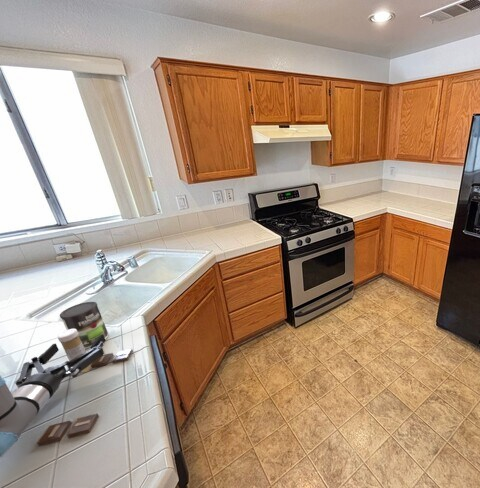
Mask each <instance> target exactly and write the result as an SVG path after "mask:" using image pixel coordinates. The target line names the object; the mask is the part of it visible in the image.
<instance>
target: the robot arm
mask: <svg viewBox="0 0 480 488" xmlns="http://www.w3.org/2000/svg"><path fill="white" fill-rule="evenodd" d="M106 340H107V339H105V338H104V335H103V334H102V335H100V336H99V337H98V338H97V340H96V341H95V342H94V343H93V345H92V346H91V347H90V348H89V349H88V350H86V352H85V353H83V354H81V355H79V356H78V357H76V358H74V359H72V360H71V361H69V360H66V361H63V363H61V364H58V365H53V366H49V367H47V368H44V365H46V364H47V363H48V362H49V361H50V360H51V359H52V358H53V357H54V356H55V355H56V354H57V353H58V352H59V350H60V349H59V346H58V345H57V343H52V344H51V345H50V346H49V347H48V348H47V349H46V350H45V351H44V352H43V353H41V354H40V355H39V356H34V357H32V358H31V360H30V361H31V362H30V361H27V362H26V361H25V362H23V364H22V367H21V371H20V374H19V377H18V378H17V380H16V381H15V382H14V384H15V385H16V387H17V388H16V389H15V390H14V391H13V392H11V390H10V388H9V386H8V385H7V383H6V380H5V379H4V378H3V377H2V376H1V375H0V458H1V457H3V456H4V455H5V454H6V453H7V452H8V450H10V449H11V447H12V446H13V445H14V444H15V443H16V442H18V440H19V438H20V436H21V435H22V434H23V433H24V432H25V430H26V429H27V427H29V426H30V424H31V422H32V421H34V419H35V418H36V416H38V414H39V413H40V412H41V410H42V409H43V408H44V406H45V405H46V404H47V403H48V401H49V400H50V399H51V398H52V397H53V396H54V394H55V393H56V392H57V391H58V390H59V388H60V385H61V383H62V381H63V380H64V379H66V378H67V377H72V378H74V379H75V378H77V377H78V376H79V375H80V374H81V373H80V372H81V371H82V370H84V369H85V368H86V367H88V366H89V365H90V364H92V363H93V362H94V361H96V360H97V359H98V358H100V357H101V356H102V355H105V350H104V344H105V343H106ZM66 367H67V369H66ZM34 368H35V369H36V371H37V373H34V374H32V373H33V370H34Z"/></svg>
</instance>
